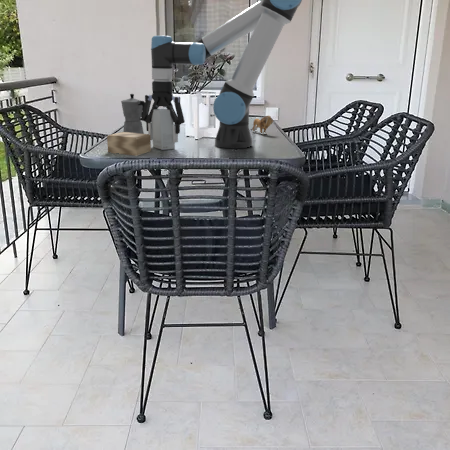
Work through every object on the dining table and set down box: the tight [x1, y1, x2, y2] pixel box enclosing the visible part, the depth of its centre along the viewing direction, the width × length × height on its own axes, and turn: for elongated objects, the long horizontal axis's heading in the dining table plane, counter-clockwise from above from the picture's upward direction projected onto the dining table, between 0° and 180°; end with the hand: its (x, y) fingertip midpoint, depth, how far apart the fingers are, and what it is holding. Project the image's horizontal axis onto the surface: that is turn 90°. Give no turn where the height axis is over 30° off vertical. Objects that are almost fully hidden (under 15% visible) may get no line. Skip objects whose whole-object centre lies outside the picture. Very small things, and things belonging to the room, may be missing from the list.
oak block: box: [106, 131, 152, 157], centre depth 174 cm, size 12×10×6 cm
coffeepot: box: [120, 93, 145, 134], centre depth 206 cm, size 15×9×18 cm, turn 49°
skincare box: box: [151, 107, 176, 151], centre depth 182 cm, size 8×6×15 cm
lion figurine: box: [250, 115, 274, 133], centre depth 226 cm, size 15×5×9 cm, turn 38°
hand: (163, 141), depth 184 cm, fingers closed on skincare box, 10 cm apart
